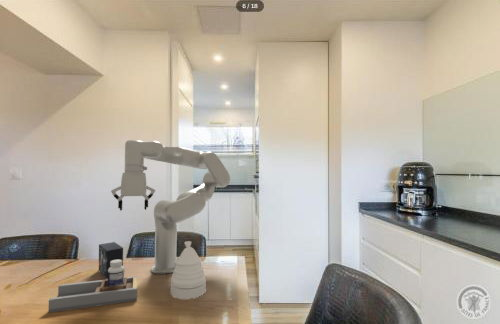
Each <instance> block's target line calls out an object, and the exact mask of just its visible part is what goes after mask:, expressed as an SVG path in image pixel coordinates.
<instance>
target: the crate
mask: <svg viewBox="0 0 500 324" xmlns="http://www.w3.org/2000/svg"><path fill="white" fill-rule="evenodd" d="M127 277H128V276H126V277H125V276H124V285H118V286H109V287H108V279H102V280H103V281H102V284H101V286H97V288H96V290H95V292H104V291H112V290H120V289H128V288H132V282H128V283H127Z"/></svg>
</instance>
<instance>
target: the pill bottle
mask: <svg viewBox="0 0 500 324" xmlns="http://www.w3.org/2000/svg"><path fill="white" fill-rule="evenodd" d="M110 266H111V267H110V268H109V269H108V287H109V286H118V285H124V278H125V267H124V265H123V266H122V260H112V261H111V262H110Z"/></svg>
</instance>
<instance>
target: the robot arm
mask: <svg viewBox="0 0 500 324" xmlns="http://www.w3.org/2000/svg"><path fill="white" fill-rule="evenodd" d="M145 159H146V160H152V161H155V162H163V163H167V164H172V165H177V166H178V165H179V166H184V167H189V168H194V169H200V170H208V171H206V172H205V174H204V175H203V177H202V181H201V183H200V185H199V186H197V187H195V188H192V189H190V190H188V191H184V192H182V193H180V194H179V195H178V196H177V198H176V200H172V199H166V198H165V199H161V200H159V201H158V202H156V204H155V205H154V208H153V218H154V229H155V230H154V231H155V232H154V234H155V235H154V265H152V266H151V267H150V271H151V272H152V274H157V275H159V274H160V275H166V273H167V274H173V272H174V269H175V267H176V264H175V262H174V261H175V260H176V259H177V258H178V257H177V246H178V245H177V242H178V237H177V236H178V235H177V234H178V227H177V224H179V223H181V222H184V221H186V220H188V219H190V218H192V217H195V216H196V215H198V214H200V213H202V211H203V210H204V209H205V207H206V203H207V202H208V201H210V200H211V199H212V197H213V195H214V192H215V188H226V187H227V186H229V184H230V183H231V176H230V173H229V172H228V170H227V168H226V167H225V165H224V163H223V162H222V160H221V159H220V157H219V156H218V155H217V154H216V153H215V152H213V151H200V150H195V149H190V148H189V147H188V148H186V147H182V146H164V145H163V144H162V143H161V142H160V141H157V140H150V141H149V140H147V141H146V140H145V141H142V140H136V139H134V140H133V139H130V140H126V141H125V144H124V172H122V174H121V175H122V176H121V181H120V185H119V186H117V187H116V188H113V189H111V192H110V193H111V194H112V195H113V197H114V198H115V200H117V201H118V203H117V204H118V207H117V208H118V209H119V211H121V212H122V210H123V198H125V197H142V196H143V198H144V210H145V211H147V208H149V200H150V199H151V198H152V197H153V196H154V194H155V192H156V189H154V188H152V187H151V186H148V185H147V175H146V172H144V171H147V170H148V166H145V165H144V162H145V161H144V160H145ZM147 190H148V191H150V193H149V194H148V195H147ZM118 191H120V196H119V195H118V194H117V192H118ZM177 262H178V261H177Z"/></svg>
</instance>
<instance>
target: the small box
mask: <svg viewBox="0 0 500 324" xmlns="http://www.w3.org/2000/svg"><path fill="white" fill-rule="evenodd" d="M112 260H122V266H123V267H124V247H123V246H121V245H120V244H118V243H116V241H113V242H107V243H100V244H98V272H99V273H100V274H101V275H102V276H103V277H104V278H105V280H107V279H108V269H109V268H110V267H111V266H110V262H111V261H112Z"/></svg>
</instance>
